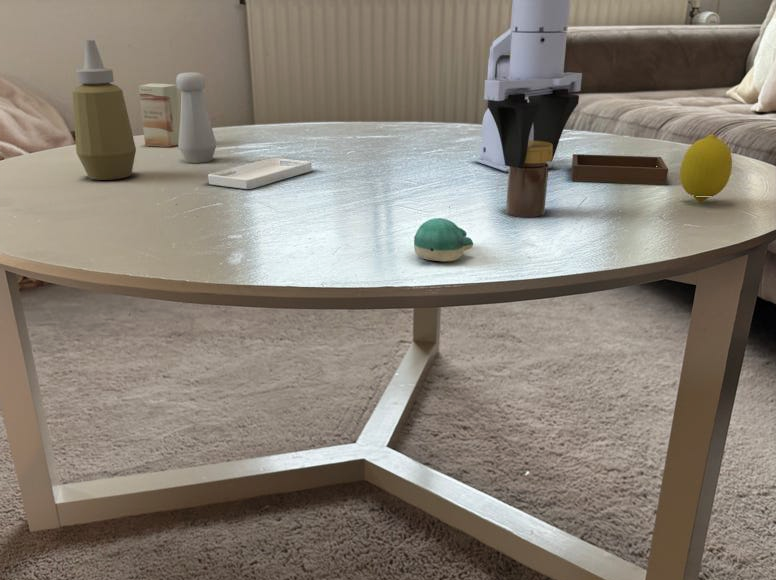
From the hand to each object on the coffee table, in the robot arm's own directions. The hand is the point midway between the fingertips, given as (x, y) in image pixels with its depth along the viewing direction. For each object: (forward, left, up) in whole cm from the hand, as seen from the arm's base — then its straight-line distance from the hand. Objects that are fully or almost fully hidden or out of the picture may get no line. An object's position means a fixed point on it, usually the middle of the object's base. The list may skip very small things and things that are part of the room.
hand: (528, 163), depth 85 cm
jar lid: (0, 0, +2) cm, 2 cm away
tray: (-13, +23, -6) cm, 27 cm away
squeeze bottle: (-41, -43, -6) cm, 60 cm away
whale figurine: (+11, -16, -6) cm, 20 cm away
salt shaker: (-49, -29, -6) cm, 57 cm away
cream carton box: (-67, -32, -6) cm, 75 cm away
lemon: (+4, +22, -6) cm, 23 cm away
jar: (0, 0, -6) cm, 6 cm away
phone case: (-32, -23, -6) cm, 40 cm away
